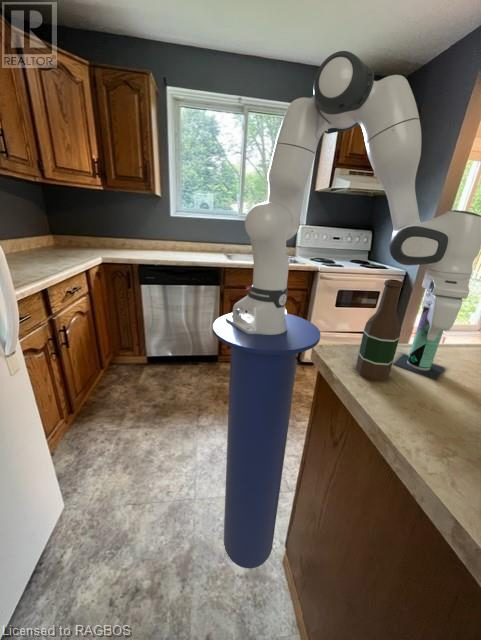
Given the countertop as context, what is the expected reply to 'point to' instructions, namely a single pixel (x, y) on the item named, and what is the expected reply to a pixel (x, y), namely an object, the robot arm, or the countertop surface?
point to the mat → (431, 373)
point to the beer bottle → (381, 335)
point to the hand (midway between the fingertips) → (428, 334)
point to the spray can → (423, 343)
